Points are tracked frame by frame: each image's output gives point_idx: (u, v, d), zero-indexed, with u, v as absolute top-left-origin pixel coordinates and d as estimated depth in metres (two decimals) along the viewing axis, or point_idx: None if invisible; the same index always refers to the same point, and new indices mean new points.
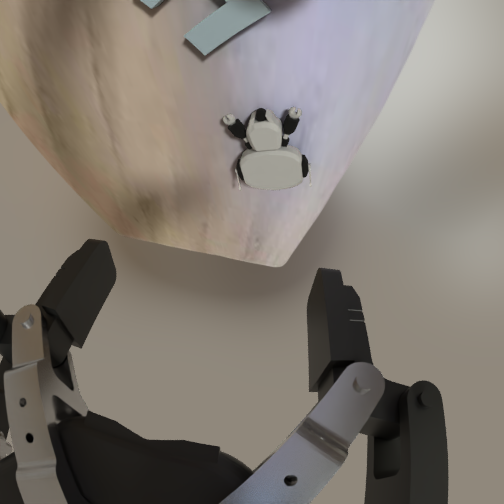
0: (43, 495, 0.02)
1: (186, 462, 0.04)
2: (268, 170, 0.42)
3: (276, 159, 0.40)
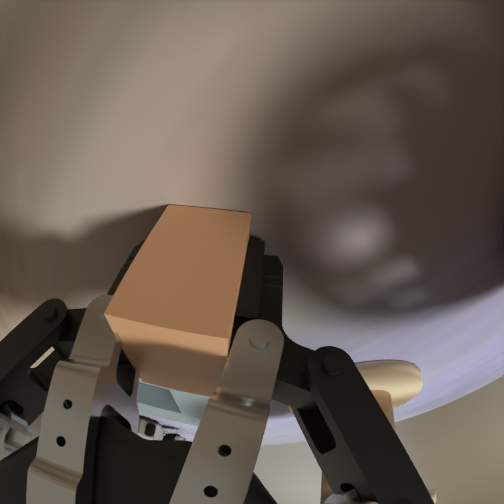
0: (43, 495, 0.02)
1: (186, 462, 0.04)
2: None
3: None
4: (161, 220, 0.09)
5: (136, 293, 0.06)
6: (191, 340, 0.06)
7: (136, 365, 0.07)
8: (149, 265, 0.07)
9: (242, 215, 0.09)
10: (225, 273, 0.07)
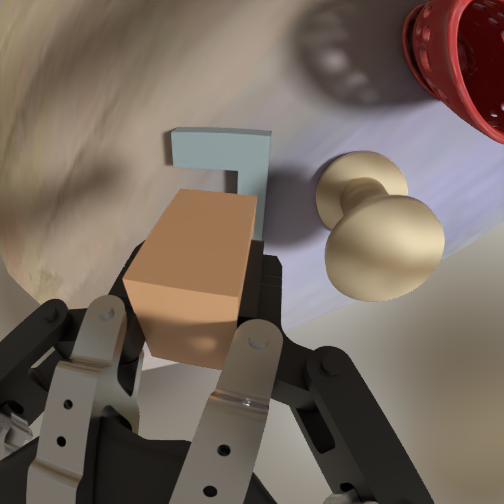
0: (43, 495, 0.02)
1: (186, 462, 0.04)
2: None
3: None
4: (174, 201, 0.09)
5: (153, 261, 0.07)
6: (204, 301, 0.07)
7: (148, 336, 0.08)
8: (164, 238, 0.08)
9: (248, 198, 0.10)
10: (235, 244, 0.08)
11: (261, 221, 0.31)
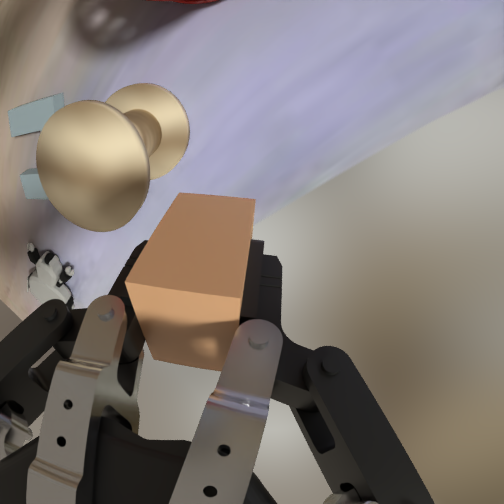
0: (43, 495, 0.02)
1: (186, 462, 0.04)
2: (44, 294, 0.41)
3: (50, 292, 0.40)
4: (173, 205, 0.10)
5: (154, 264, 0.07)
6: (207, 303, 0.07)
7: (149, 339, 0.08)
8: (165, 241, 0.08)
9: (247, 201, 0.10)
10: (235, 246, 0.08)
11: None
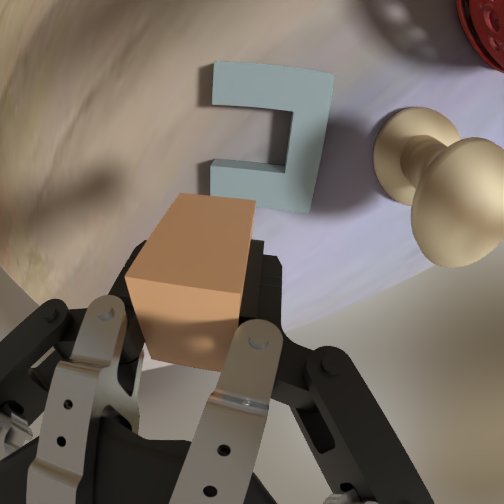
0: (43, 495, 0.02)
1: (186, 462, 0.04)
2: None
3: None
4: (174, 205, 0.10)
5: (155, 260, 0.07)
6: (206, 298, 0.07)
7: (148, 337, 0.08)
8: (166, 238, 0.08)
9: (247, 202, 0.10)
10: (235, 244, 0.08)
11: (314, 177, 0.25)
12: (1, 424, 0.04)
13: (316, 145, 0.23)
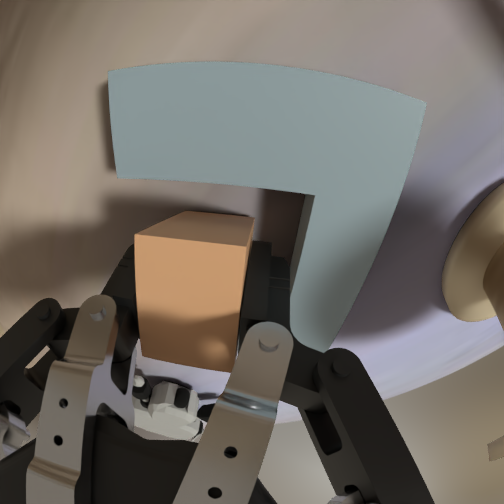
0: (43, 495, 0.02)
1: (186, 462, 0.04)
2: (154, 425, 0.27)
3: (170, 426, 0.26)
4: (181, 214, 0.11)
5: (164, 230, 0.08)
6: (213, 255, 0.07)
7: (143, 320, 0.08)
8: (174, 224, 0.09)
9: (247, 217, 0.11)
10: (239, 230, 0.09)
11: (343, 315, 0.12)
12: None
13: (357, 266, 0.10)
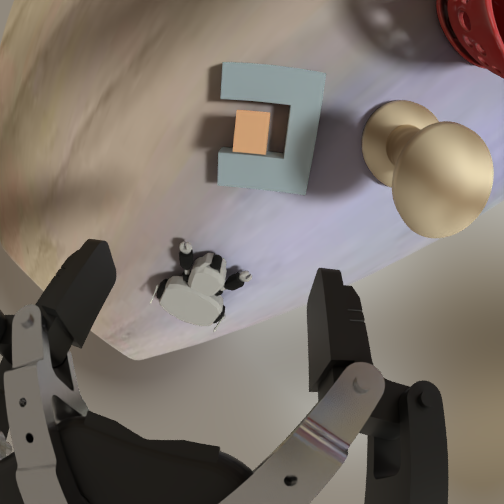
0: (43, 495, 0.02)
1: (186, 462, 0.04)
2: (188, 305, 0.42)
3: (201, 302, 0.41)
4: None
5: None
6: (260, 115, 0.23)
7: (235, 136, 0.23)
8: None
9: None
10: None
11: (309, 162, 0.28)
12: None
13: (310, 134, 0.26)
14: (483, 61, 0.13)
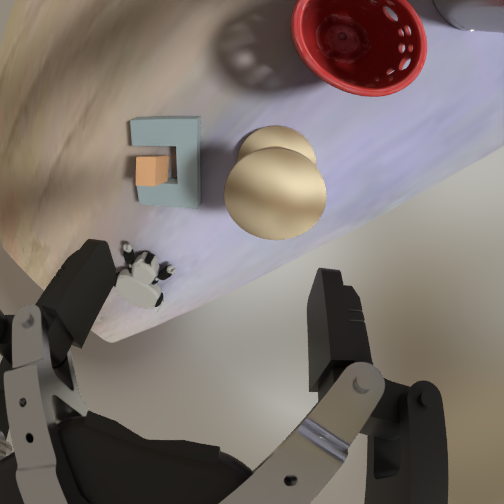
0: (43, 495, 0.02)
1: (186, 462, 0.04)
2: (134, 291, 0.53)
3: (143, 289, 0.52)
4: (148, 155, 0.37)
5: (142, 156, 0.34)
6: (150, 159, 0.33)
7: (136, 175, 0.34)
8: None
9: (166, 155, 0.38)
10: (158, 156, 0.35)
11: (195, 185, 0.39)
12: None
13: (192, 165, 0.37)
14: None
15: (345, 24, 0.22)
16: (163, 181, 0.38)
